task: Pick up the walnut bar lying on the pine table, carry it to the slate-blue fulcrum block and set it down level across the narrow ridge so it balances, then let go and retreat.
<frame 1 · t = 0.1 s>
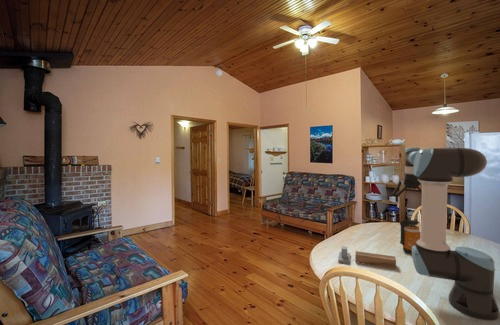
hand: (411, 208, 148), 28 cm above the table, fingers open, 13 cm apart
canister: (409, 251, 153), on the table
walnut bar: (374, 264, 138), on the table
fulcrum: (344, 258, 145), on the table
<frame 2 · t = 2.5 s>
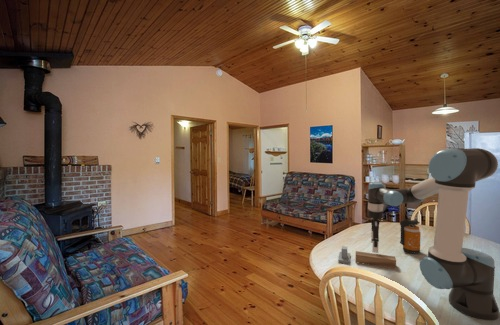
hand: (374, 247, 138), 9 cm above the table, fingers open, 13 cm apart
nothing on the table moved.
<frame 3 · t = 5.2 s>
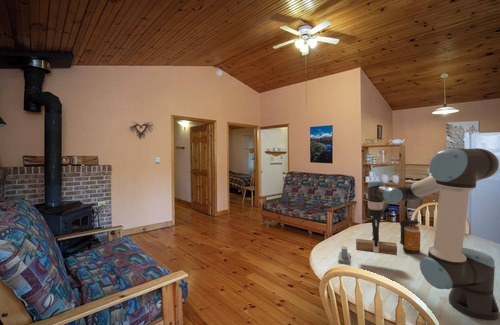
hand: (375, 249, 137), 8 cm above the table, fingers closed on walnut bar, 5 cm apart
walnut bar: (375, 251, 137), point 7 cm above the table, touching gripper
everything else where it was.
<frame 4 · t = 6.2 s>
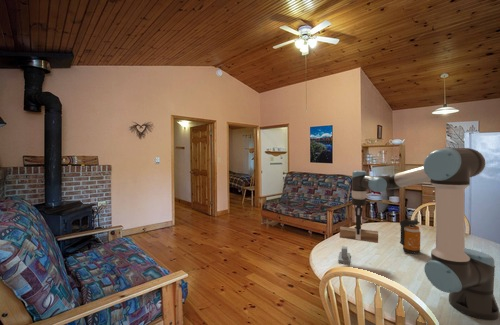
hand: (358, 237, 141), 14 cm above the table, fingers closed on walnut bar, 5 cm apart
walnut bar: (358, 238, 141), point 13 cm above the table, touching gripper
everything else where it was.
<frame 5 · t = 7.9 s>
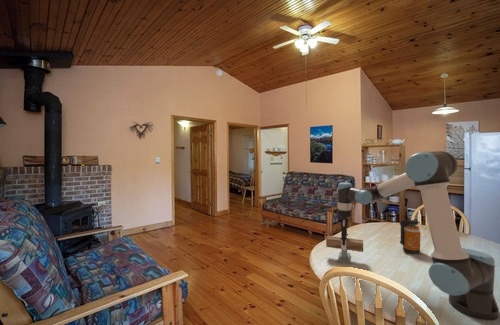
hand: (343, 248, 144), 6 cm above the table, fingers closed on walnut bar, 5 cm apart
walnut bar: (344, 247, 144), point 7 cm above the table, touching fulcrum, gripper
everything else where it was.
when the fingers open (6 cm above the table, at t = 8.3 s): walnut bar stays where it is, resting on fulcrum.
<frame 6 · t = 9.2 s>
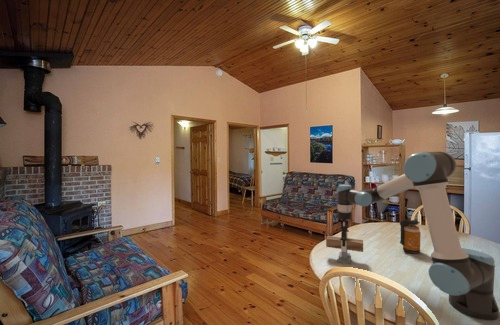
hand: (344, 246, 144), 7 cm above the table, fingers open, 13 cm apart
walnut bar: (344, 247, 144), point 7 cm above the table, touching fulcrum
everything else where it was.
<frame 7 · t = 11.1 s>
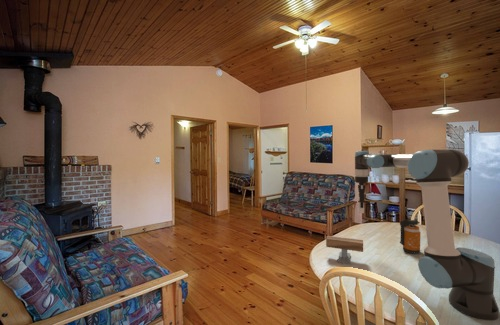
hand: (361, 210, 152), 26 cm above the table, fingers open, 13 cm apart
nothing on the table moved.
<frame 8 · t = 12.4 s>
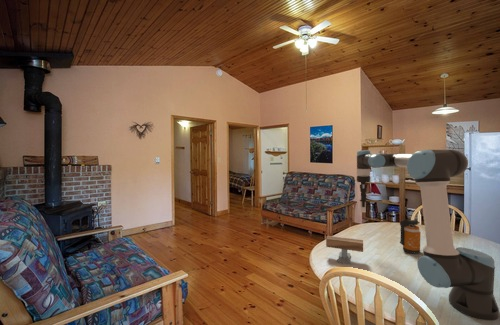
hand: (363, 209, 153), 27 cm above the table, fingers open, 13 cm apart
nothing on the table moved.
at the end: walnut bar 0.1 cm off-centre on the fulcrum, point 6.7 cm above the fulcrum's base; walnut bar tilted 0°; walnut bar touching fulcrum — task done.
